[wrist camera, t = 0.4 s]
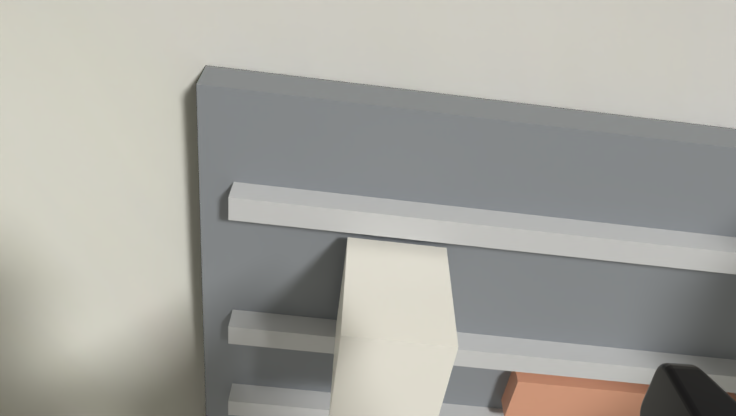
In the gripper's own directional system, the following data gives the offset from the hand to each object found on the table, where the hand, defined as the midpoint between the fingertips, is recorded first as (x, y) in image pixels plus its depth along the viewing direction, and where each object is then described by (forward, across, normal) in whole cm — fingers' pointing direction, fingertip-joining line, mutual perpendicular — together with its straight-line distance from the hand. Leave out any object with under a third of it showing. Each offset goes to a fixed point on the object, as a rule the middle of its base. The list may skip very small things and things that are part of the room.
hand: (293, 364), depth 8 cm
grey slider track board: (+12, -7, +12) cm, 19 cm away
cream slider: (+10, -2, +8) cm, 13 cm away
